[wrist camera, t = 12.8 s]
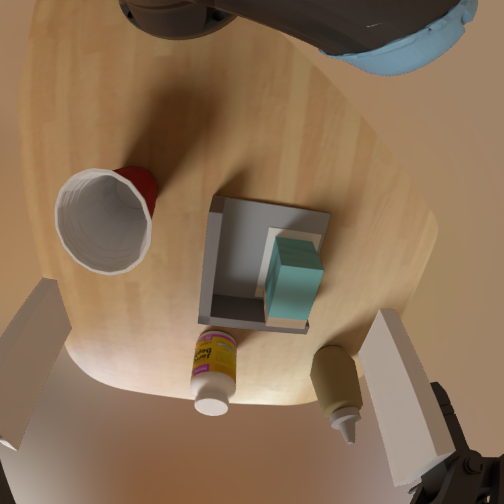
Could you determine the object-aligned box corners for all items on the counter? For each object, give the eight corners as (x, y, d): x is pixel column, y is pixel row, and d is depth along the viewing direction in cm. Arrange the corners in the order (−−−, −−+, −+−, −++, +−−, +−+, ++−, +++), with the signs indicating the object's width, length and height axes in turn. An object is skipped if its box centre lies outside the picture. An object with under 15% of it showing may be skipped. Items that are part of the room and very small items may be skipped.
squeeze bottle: (307, 373, 55) (323, 457, 39) (305, 344, 51) (324, 437, 36) (349, 365, 55) (373, 446, 39) (351, 336, 51) (381, 423, 35)
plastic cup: (151, 128, 34) (113, 147, 23) (191, 204, 39) (173, 251, 28) (83, 170, 36) (33, 204, 25) (124, 237, 40) (90, 289, 30)
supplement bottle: (212, 322, 48) (206, 388, 37) (244, 342, 50) (246, 406, 39) (188, 343, 50) (178, 407, 39) (219, 361, 53) (216, 423, 42)
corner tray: (213, 195, 38) (208, 211, 33) (330, 213, 40) (341, 231, 35) (201, 299, 46) (197, 323, 41) (300, 309, 47) (306, 334, 43)
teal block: (296, 296, 45) (304, 329, 39) (262, 292, 45) (265, 325, 39) (312, 241, 41) (324, 270, 35) (275, 236, 41) (281, 265, 34)
